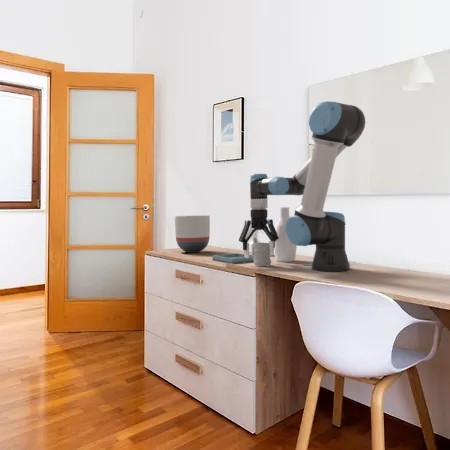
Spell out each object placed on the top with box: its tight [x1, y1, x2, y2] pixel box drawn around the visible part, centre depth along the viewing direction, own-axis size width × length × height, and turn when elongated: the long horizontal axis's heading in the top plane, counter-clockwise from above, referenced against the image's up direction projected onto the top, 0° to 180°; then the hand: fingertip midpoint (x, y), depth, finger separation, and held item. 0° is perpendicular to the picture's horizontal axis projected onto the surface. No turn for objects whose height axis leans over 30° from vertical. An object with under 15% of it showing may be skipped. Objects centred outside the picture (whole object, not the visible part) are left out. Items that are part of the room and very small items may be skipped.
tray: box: [212, 252, 253, 264], centre depth 205 cm, size 18×15×2 cm
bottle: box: [274, 206, 298, 263], centre depth 201 cm, size 11×11×25 cm
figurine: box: [248, 225, 265, 249], centre depth 230 cm, size 13×10×20 cm
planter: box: [174, 214, 211, 253], centre depth 249 cm, size 20×20×21 cm
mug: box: [251, 238, 272, 267], centre depth 188 cm, size 8×12×12 cm, turn 28°
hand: (259, 256), depth 189 cm, fingers open, 13 cm apart
